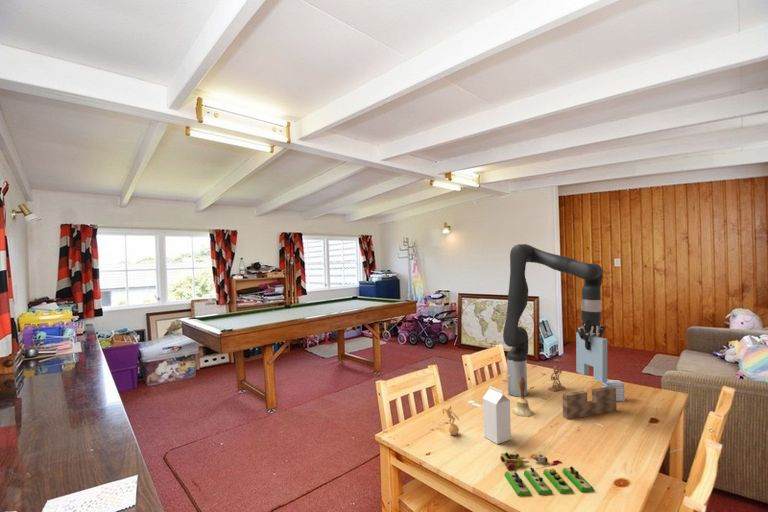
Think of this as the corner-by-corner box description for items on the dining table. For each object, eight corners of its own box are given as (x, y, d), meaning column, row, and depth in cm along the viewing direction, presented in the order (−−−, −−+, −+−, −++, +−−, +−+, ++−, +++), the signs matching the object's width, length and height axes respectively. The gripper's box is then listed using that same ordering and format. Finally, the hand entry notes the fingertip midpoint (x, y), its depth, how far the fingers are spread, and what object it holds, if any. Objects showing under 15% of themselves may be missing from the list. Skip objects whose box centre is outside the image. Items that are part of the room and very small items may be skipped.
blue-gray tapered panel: (607, 382, 154) (607, 339, 153) (602, 382, 153) (602, 339, 153) (580, 371, 167) (580, 331, 167) (576, 371, 167) (576, 332, 166)
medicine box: (619, 398, 177) (619, 379, 177) (624, 401, 172) (624, 383, 172) (602, 397, 178) (601, 379, 178) (607, 401, 173) (606, 383, 173)
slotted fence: (567, 419, 156) (566, 395, 156) (563, 416, 158) (562, 393, 158) (616, 410, 163) (615, 388, 163) (611, 408, 165) (610, 386, 165)
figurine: (465, 436, 143) (464, 405, 143) (455, 441, 139) (454, 410, 139) (449, 429, 150) (448, 399, 150) (439, 433, 146) (438, 403, 146)
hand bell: (537, 414, 161) (536, 378, 161) (521, 418, 158) (520, 380, 158) (523, 407, 169) (522, 372, 169) (508, 410, 166) (508, 375, 166)
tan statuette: (554, 392, 187) (553, 368, 187) (547, 389, 190) (547, 366, 190) (565, 388, 191) (564, 365, 191) (558, 386, 194) (558, 363, 194)
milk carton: (497, 444, 137) (495, 393, 137) (483, 436, 143) (482, 387, 143) (511, 439, 140) (509, 389, 140) (497, 432, 146) (496, 384, 146)
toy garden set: (518, 498, 107) (517, 482, 107) (494, 461, 126) (493, 448, 126) (594, 493, 109) (593, 477, 109) (559, 457, 128) (558, 444, 128)
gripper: (585, 312, 154) (585, 353, 154) (611, 310, 158) (611, 350, 158) (571, 309, 161) (571, 348, 162) (596, 307, 165) (596, 345, 165)
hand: (591, 349), depth 160 cm, fingers closed on blue-gray tapered panel, 2 cm apart
